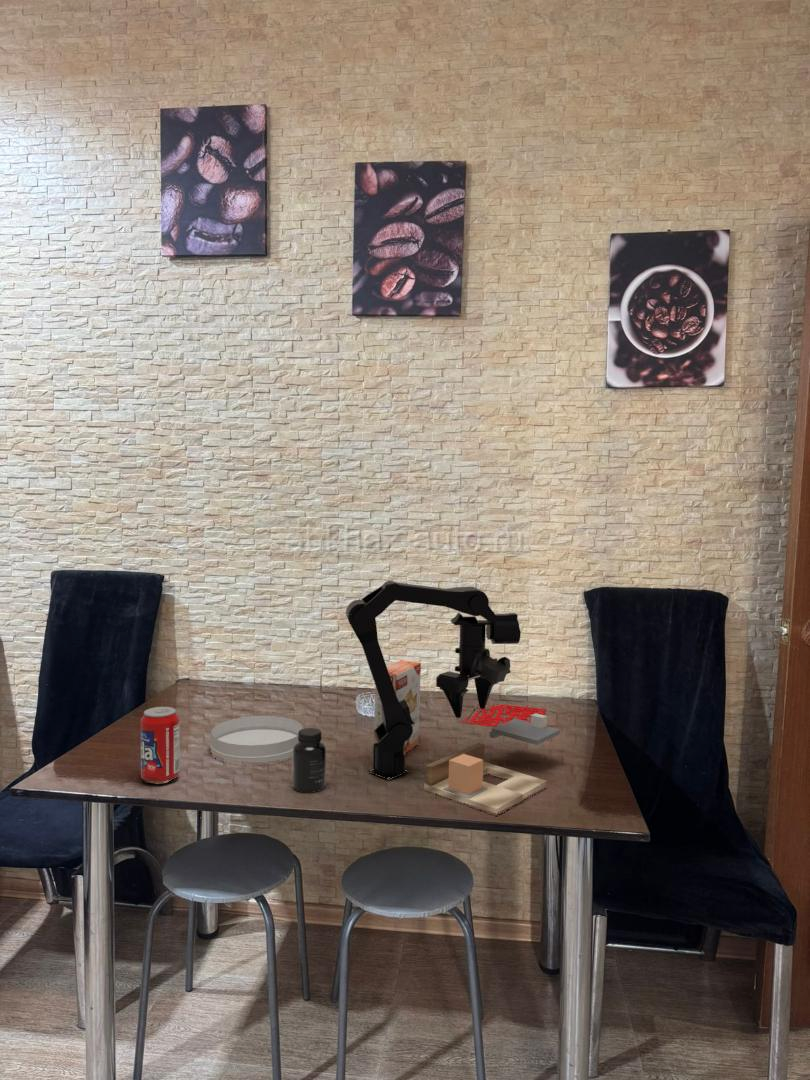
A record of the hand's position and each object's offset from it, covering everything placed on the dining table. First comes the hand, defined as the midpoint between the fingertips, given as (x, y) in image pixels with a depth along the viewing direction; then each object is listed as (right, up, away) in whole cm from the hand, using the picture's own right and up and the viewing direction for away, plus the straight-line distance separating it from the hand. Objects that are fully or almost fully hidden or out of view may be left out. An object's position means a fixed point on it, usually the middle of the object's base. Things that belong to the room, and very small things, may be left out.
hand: (470, 713), depth 169 cm
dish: (-50, -12, +12) cm, 53 cm away
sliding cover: (+13, -7, +5) cm, 16 cm away
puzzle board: (+2, -14, -10) cm, 17 cm away
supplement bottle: (-35, -13, -10) cm, 39 cm away
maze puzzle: (+13, -11, +41) cm, 44 cm away
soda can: (-67, -13, -8) cm, 68 cm away
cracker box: (-17, -12, +11) cm, 23 cm away
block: (-2, -12, -14) cm, 19 cm away
